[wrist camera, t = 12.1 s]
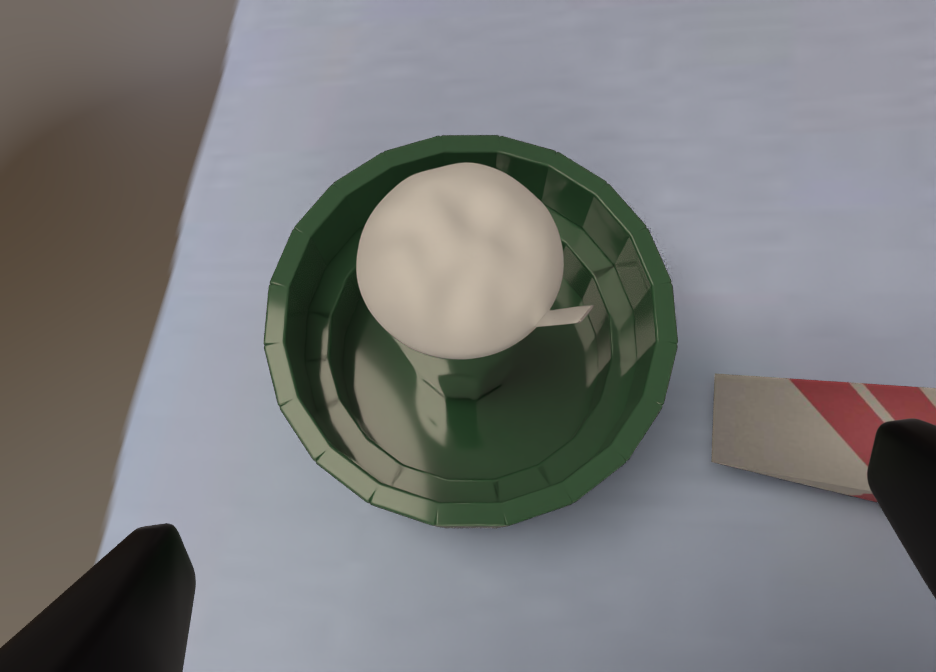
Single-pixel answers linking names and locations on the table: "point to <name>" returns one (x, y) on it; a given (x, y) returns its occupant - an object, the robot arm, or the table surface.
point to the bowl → (528, 382)
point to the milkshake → (462, 274)
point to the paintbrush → (809, 427)
